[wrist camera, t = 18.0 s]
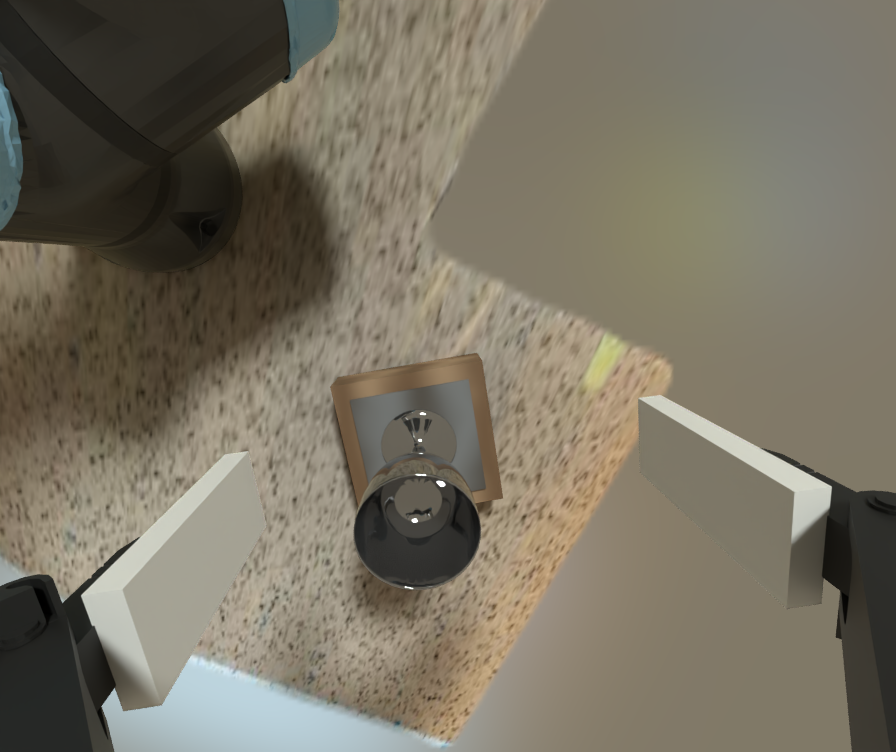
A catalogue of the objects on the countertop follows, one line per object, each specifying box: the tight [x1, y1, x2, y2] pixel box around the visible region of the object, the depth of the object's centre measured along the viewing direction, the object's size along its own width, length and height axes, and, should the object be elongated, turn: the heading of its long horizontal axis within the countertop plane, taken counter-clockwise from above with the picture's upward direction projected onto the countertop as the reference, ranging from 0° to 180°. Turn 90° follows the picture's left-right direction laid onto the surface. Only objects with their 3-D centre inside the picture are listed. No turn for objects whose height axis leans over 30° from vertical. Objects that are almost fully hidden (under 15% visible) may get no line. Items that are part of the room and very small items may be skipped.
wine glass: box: [354, 409, 481, 590], centre depth 36 cm, size 8×8×15 cm
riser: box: [330, 353, 503, 507], centre depth 45 cm, size 14×14×4 cm
